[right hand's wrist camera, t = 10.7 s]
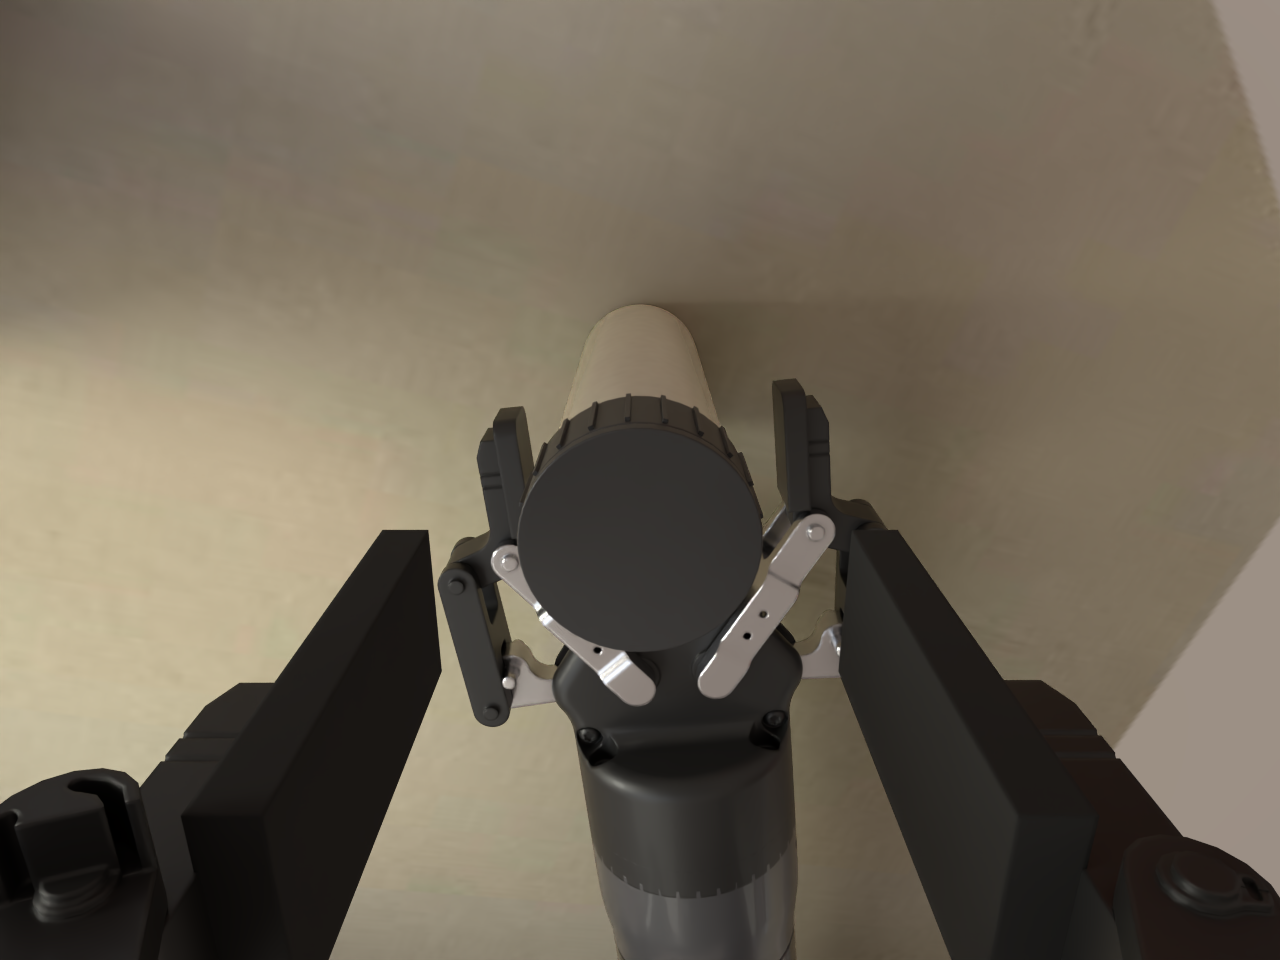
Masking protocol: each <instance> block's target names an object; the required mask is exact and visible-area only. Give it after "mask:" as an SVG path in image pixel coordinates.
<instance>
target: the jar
mask: <svg viewBox="0 0 1280 960" xmlns="http://www.w3.org/2000/svg"><path fill="white" fill-rule="evenodd" d="M628 393H631V396H653V397H659V398H660V397H661V395H665V396H666V399H669V400H672V401H676V402H679V403H682V404H684V405H686V406H688V407H691V408H693V407H694V406H696V407H697V408H698V409H699V412H700V413H701V414H703V415H705V416H706V417H707V418H708V419H710V420H711V421H712V422H713V423H715V424H716V425H717V426H718V427H719V428H720V427H721V426H720V423H719V419H718V416H717V413H716V410H715V407H714V403H713V400H712V397H711V394H710V390H709V387H708V384H707V381H706V377H705V374H704V371H703V368H702V365H701V361H700V358H699V355H698V352H697V348H696V345H695V343H694V340H693V337H692V336H691V334H690V332H689V330H688V329H687V328H686V326H685V325H684V324H683V323H682V322H681V321H680V320H679V319H678V318H677V317H676V316H674V315H673V314H671V313H670V312H668V311H666V310H664V309H662V308H659V307H655V306H651V305H643V304H636V305H629V306H625V307H621V308H619V309H616V310H614V311H612V312H610V313H609V314H607V315H606V316H604V317H603V318H602V319H601V320H600V321H599V322H598V323H597V324H596V325H595V326H594V328H593V329H592V330H591V332H590V334H589V335H588V337H587V340H586V342H585V345H584V348H583V352H582V355H581V358H580V361H579V365H578V368H577V371H576V374H575V378H574V381H573V384H572V387H571V390H570V394H569V397H568V400H567V403H566V407H565V410H564V413H563V416H562V420H561V423H560V426H559V429H560V428H561V427H562V424H563V421H564V420H565V419H566V418H568V420H570V419H572V418H573V417H574V416H576V415H577V414H578V413H580V412H582V411H584V410H586V409H587V408H589V407H591V406H592V403H593V402H595V401H597V402H598V404H599V403H601V402H604V401H607V400H611V399H616V398H620V397H626V394H628ZM559 429H558V430H559Z"/></svg>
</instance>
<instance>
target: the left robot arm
mask: <svg viewBox="0 0 1280 960" xmlns="http://www.w3.org/2000/svg"><path fill="white" fill-rule="evenodd" d="M772 395H773V413H774V431H775V449H776V467H777V485H778V489H779V491H780V494H781V496H782V498H783V500H782V502H781V503H780V505H779V506H778V507H777V509H776V510H775V512H774V513H773V514H772V516H771V517H770V519H769V520H768V521H767V523H766V524H765V526H764V527H763V528H762V533H763V547H762V557H761V561H760V565H759V570H758V572H757V575H756V578H755V580H754V583H753V585H752V587H751V588H750V590H749V592H748V594H747V596H746V597H745V598H744V600H743V601H742V603H741V604H740V605H739V607H738V608H737V609H736V610H735V611H734V612H733V613H732V614H731V615H730V616H729V617H728V618H727V619H726V620H725V621H724V622H723V623H721V624H720V625H719V626H718V627H716V628H715V629H714V630H712V631H710V632H709V633H707V634H706V635H704V636H702V637H700V638H698V639H696V640H694V641H692V642H689V643H687V644H684V645H681V646H678V647H674V648H670V649H665V650H660V651H649V652H629V651H621V650H614V649H610V648H606V647H602V646H599V645H596V644H594V643H591V642H588V641H586V640H584V639H582V638H580V637H578V636H576V635H574V634H572V633H571V632H570V631H568V630H567V629H565V628H564V627H562V626H561V625H560V624H558V623H557V622H556V621H555V620H554V619H553V618H552V617H551V616H549V615H548V613H547V612H546V611H545V610H544V609H543V608H542V607H541V605H540V604H539V603H538V601H537V600H536V598H535V597H534V595H533V594H532V592H531V591H530V589H529V586H528V584H527V582H526V580H525V578H524V575H523V572H522V569H521V566H520V561H519V556H518V550H517V537H516V536H517V532H518V523H519V518H520V514H521V510H522V507H519V504H520V500H521V498H522V495H523V492H524V489H525V486H526V484H527V481H528V478H529V475H530V472H533V470H534V462H533V456H532V450H531V444H530V438H529V431H528V425H527V419H526V414H525V410H524V407H523V406H520V407H510V408H501V409H500V410H499V412H498V414H497V416H496V417H495V419H494V421H493V428H488V429H487V431H486V433H485V435H484V436H483V438H482V440H481V442H480V446H479V450H478V455H477V462H478V468H479V473H480V478H481V484H482V487H483V495H484V500H485V505H486V511H487V516H488V521H489V527H490V530H489V531H488V532H486V533H485V534H482V535H480V536H478V537H476V538H474V537H466V538H463V539H461V540H459V541H458V542H457V543H456V545H455V546H454V548H453V551H452V553H451V558H450V560H449V562H448V564H447V566H446V567H445V568H444V570H443V571H442V573H441V575H440V577H439V580H438V590H439V593H440V597H441V600H442V604H443V607H444V611H445V614H446V618H447V621H448V625H449V628H450V632H451V635H452V639H453V642H454V646H455V650H456V653H457V657H458V660H459V664H460V667H461V671H462V674H463V678H464V681H465V685H466V688H467V692H468V695H469V699H470V702H471V706H472V709H473V713H474V716H475V718H476V719H477V720H478V721H479V722H480V723H481V724H483V725H485V726H489V727H496V726H500V725H502V724H504V723H505V722H506V721H507V720H508V718H509V714H510V710H511V708H517V707H524V706H531V705H538V704H545V703H551V702H557V704H558V705H559V706H560V708H561V709H562V710H563V711H564V712H565V713H566V714H567V716H568V717H569V719H570V721H571V723H572V725H573V728H574V732H575V738H576V744H577V750H578V756H579V762H580V768H581V774H582V781H583V787H584V793H585V799H586V805H587V811H588V818H589V824H590V830H591V837H592V843H593V849H594V855H595V861H596V867H597V873H598V879H599V885H600V890H601V894H602V898H603V901H604V905H605V908H606V911H607V914H608V917H609V920H610V922H611V925H612V928H613V932H614V937H615V943H616V950H617V956H618V960H797V958H796V941H795V925H794V908H795V901H796V893H797V883H798V858H797V840H796V822H795V803H794V784H793V766H792V748H791V730H790V712H789V709H790V702H791V698H792V695H793V693H794V691H795V690H796V688H797V686H798V685H799V683H800V680H801V679H814V678H839V677H840V674H839V672H838V669H839V659H840V648H841V638H842V627H843V617H844V606H845V596H846V585H847V575H848V564H849V554H850V543H851V533H852V530H888V529H887V528H886V526H885V525H884V523H883V522H882V520H881V519H880V517H879V516H878V515H877V513H876V512H875V510H874V509H873V507H872V506H871V504H869V503H868V502H867V501H865V500H862V499H853V500H850V501H846V500H842V499H838V498H835V497H833V496H831V477H830V454H829V452H830V445H829V422H828V420H827V418H826V416H825V414H824V411H823V409H822V407H821V406H820V405H819V403H818V402H817V401H816V399H815V398H814V397H813V395H809V396H805V392H804V389H803V388H802V386H801V385H800V384H799V382H798V381H797V380H796V378H795V379H785V380H776V381H773V383H772ZM827 548H831V549H836V550H837V558H836V585H835V611H833V610H826V611H824V612H823V614H822V616H821V617H820V618H819V619H818V621H817V623H816V627H815V630H814V632H813V634H812V635H811V636H810V637H809V638H807V639H806V640H803V641H800V642H796V641H795V639H794V637H793V636H792V634H791V633H790V632H789V631H788V630H787V629H786V628H785V627H784V626H783V625H782V624H781V623H780V622H781V620H782V619H783V618H784V616H785V615H786V614H787V612H788V611H789V610H790V608H791V607H792V606H793V604H794V603H795V601H796V599H797V597H798V595H799V591H800V586H801V583H802V581H803V580H804V578H805V577H806V576H807V574H808V573H809V572H810V570H811V569H812V568H813V566H814V565H815V564H816V562H817V561H818V560H819V558H820V557H821V555H822V554H823V553H824V551H825V550H826V549H827ZM500 580H503V581H505V582H506V583H507V584H508V585H509V586H510V587H511V588H512V589H514V590H515V591H516V592H517V593H518V594H519V595H520V596H521V597H523V598H524V599H525V600H526V601H527V602H528V603H529V604H530V605H531V606H532V607H533V608H534V609H535V610H536V612H537V615H538V618H539V620H540V621H541V623H542V624H543V625H544V626H545V627H546V628H547V629H548V630H549V631H550V632H551V633H552V634H553V635H555V636H556V637H557V638H558V639H559V640H560V641H561V642H562V643H564V644H565V645H564V646H563V648H562V649H561V651H560V653H559V654H558V656H557V658H556V661H555V665H546V664H543V663H541V662H539V661H537V660H536V659H535V657H534V656H533V654H532V652H531V650H530V648H529V647H528V646H527V645H525V643H524V642H523V641H521V640H514V641H513V642H512V641H511V637H510V633H509V629H508V625H507V621H506V617H505V613H504V609H503V606H502V602H501V598H500V594H499V590H498V586H497V582H498V581H500Z"/></svg>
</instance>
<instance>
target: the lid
mask: <svg viewBox="0 0 1280 960" xmlns="http://www.w3.org/2000/svg"><path fill="white" fill-rule="evenodd" d="M753 485H754V484H753V481H752V479H751V476H750V473H749V470H748V467H747V465H746V462H745V459H744V456H743V454H742V452H740V453H737V451H736V449H735V447H734V445H733V444H732V443H731V441H730V440H729V438H728V437H727V434H726V431H725V428H724V427H723V426H721V427H720V428H719V427H718V426H717V425H716V424H715V423H713V422H712V421H711V420H710V419H708V418H707V417H706V416H705V415H703V414H701V413H700V412H699V409H698V408H697V407H696V406H694V407H693V408H691V407H688V406H686V405H684V404H682V403H679V402H676V401H672V400H669V399H666V396H665V395H661V397H660V398H659V397H653V396H631V393H628V394H626V397H620V398H616V399H611V400H607V401H604V402H601V403H599V404H598V402H597V401H595V402H593V403H592V406H591V407H589V408H587V409H586V410H584V411H582V412H580V413H578V414H577V415H576V416H574V417H573V418H572V419H570V420H568V418H566V419H565V420H564V421H563V424H562V427H561V428H560V429H559V430H558V431H557V432H556V433H555V435H554V436H553V437H552V438H551V440H550V441H549V442H548V444H546V443H545V442H544V443H543V445H542V447H541V450H540V453H539V456H538V459H537V461H536V464H535V467H534V470H533V472H530V475H529V478H528V481H527V484H526V486H525V489H524V492H523V495H522V498H521V500H520V504H519V507H522V510H521V514H520V518H519V523H518V532H517V536H516V537H517V550H518V556H519V561H520V566H521V569H522V572H523V575H524V578H525V580H526V582H527V584H528V586H529V589H530V591H531V592H532V594H533V595H534V597H535V598H536V600H537V601H538V603H539V604H540V605H541V607H542V608H543V609H544V610H545V611H546V612H547V613H548V615H549V616H551V617H552V618H553V619H554V620H555V621H556V622H557V623H558V624H560V625H561V626H562V627H564V628H565V629H567V630H568V631H570V632H571V633H572V634H574V635H576V636H578V637H580V638H582V639H584V640H586V641H588V642H591V643H594V644H596V645H599V646H602V647H606V648H610V649H614V650H621V651H629V652H649V651H660V650H665V649H670V648H674V647H678V646H681V645H684V644H687V643H689V642H692V641H694V640H696V639H698V638H700V637H702V636H704V635H706V634H707V633H709V632H710V631H712V630H714V629H715V628H716V627H718V626H719V625H720V624H721V623H723V622H724V621H725V620H726V619H727V618H728V617H729V616H730V615H731V614H732V613H733V612H734V611H735V610H736V609H737V608H738V607H739V605H740V604H741V603H742V601H743V600H744V598H745V597H746V596H747V594H748V592H749V590H750V588H751V587H752V585H753V583H754V580H755V578H756V575H757V572H758V570H759V565H760V561H761V557H762V547H763V533H762V523H761V518H763V514H762V511H761V508H760V505H759V502H758V499H757V497H756V494H755V491H754V488H753Z"/></svg>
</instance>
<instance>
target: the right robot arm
mask: <svg viewBox="0 0 1280 960" xmlns="http://www.w3.org/2000/svg"><path fill="white" fill-rule="evenodd" d="M441 672H442V669H441V659H440V648H439V638H438V627H437V617H436V606H435V596H434V585H433V575H432V564H431V554H430V543H429V533H428V530H382V531H381V533H380V534H379V536H378V537H377V539H376V540H375V541H374V543H373V544H372V546H371V547H370V548H369V550H368V551H367V553H366V554H365V555H364V557H363V558H362V560H361V561H360V563H359V564H358V565H357V567H356V568H355V570H354V571H353V572H352V574H351V575H350V577H349V578H348V580H347V581H346V582H345V584H344V585H343V587H342V588H341V589H340V591H339V592H338V594H337V595H336V596H335V598H334V599H333V601H332V602H331V604H330V605H329V606H328V608H327V609H326V611H325V612H324V613H323V615H322V616H321V618H320V619H319V621H318V622H317V623H316V625H315V626H314V628H313V629H312V630H311V632H310V633H309V635H308V636H307V638H306V639H305V640H304V642H303V643H302V645H301V646H300V647H299V649H298V650H297V652H296V653H295V654H294V656H293V657H292V659H291V660H290V662H289V663H288V664H287V666H286V667H285V669H284V670H283V671H282V673H281V674H280V676H279V677H278V679H277V680H276V681H275V683H239V684H237V685H236V686H234V687H233V688H231V689H230V690H228V691H227V692H225V693H224V694H222V695H221V696H219V697H218V698H217V699H215V700H214V701H212V702H211V703H209V704H208V705H206V706H205V707H204V708H203V710H202V711H201V712H200V713H199V715H198V716H197V717H196V718H195V720H194V721H193V722H192V723H191V725H190V726H189V727H188V728H187V730H186V731H185V732H184V737H183V738H179V740H178V741H177V742H176V743H175V745H174V746H173V747H172V748H171V749H170V751H169V752H168V753H167V754H166V759H165V761H161V762H160V763H159V764H158V766H157V767H156V768H155V769H154V771H153V772H152V773H151V774H150V776H149V777H148V778H147V779H146V781H145V782H144V783H143V784H142V786H141V787H140V788H139V784H138V782H136V781H135V780H134V779H133V778H132V777H130V776H129V775H128V774H127V773H125V772H121V771H115V770H110V769H104V768H100V769H90V770H80V771H73V772H69V773H66V774H63V775H59V776H56V777H53V778H49V779H46V780H43V781H41V782H39V783H37V784H35V785H32V786H30V787H28V788H26V789H24V790H22V791H20V792H18V793H16V794H14V795H12V796H11V797H9V798H8V799H7V800H5V801H4V802H3V803H1V804H0V960H329V957H330V955H331V952H332V950H333V947H334V944H335V942H336V939H337V937H338V934H339V932H340V929H341V927H342V924H343V922H344V919H345V916H346V914H347V911H348V909H349V906H350V904H351V901H352V899H353V896H354V893H355V891H356V888H357V886H358V883H359V881H360V878H361V876H362V873H363V871H364V868H365V865H366V863H367V860H368V858H369V855H370V853H371V850H372V848H373V845H374V843H375V840H376V837H377V835H378V832H379V830H380V827H381V825H382V822H383V820H384V817H385V814H386V812H387V809H388V807H389V804H390V802H391V799H392V797H393V794H394V792H395V789H396V786H397V784H398V781H399V779H400V776H401V774H402V771H403V769H404V766H405V764H406V761H407V758H408V756H409V753H410V751H411V748H412V746H413V743H414V741H415V738H416V735H417V733H418V730H419V728H420V725H421V723H422V720H423V718H424V715H425V713H426V710H427V707H428V705H429V702H430V700H431V697H432V695H433V692H434V690H435V687H436V684H437V682H438V679H439V677H440V674H441ZM838 672H839V674H840V677H841V679H842V682H843V684H844V687H845V690H846V692H847V695H848V697H849V700H850V702H851V705H852V707H853V710H854V713H855V715H856V718H857V720H858V723H859V725H860V728H861V730H862V733H863V735H864V738H865V741H866V743H867V746H868V748H869V751H870V753H871V756H872V758H873V761H874V764H875V766H876V769H877V771H878V774H879V776H880V779H881V781H882V784H883V786H884V789H885V792H886V794H887V797H888V799H889V802H890V804H891V807H892V809H893V812H894V814H895V817H896V820H897V822H898V825H899V827H900V830H901V832H902V835H903V837H904V840H905V843H906V845H907V848H908V850H909V853H910V855H911V858H912V860H913V863H914V865H915V868H916V871H917V873H918V876H919V878H920V881H921V883H922V886H923V888H924V891H925V893H926V896H927V899H928V901H929V904H930V906H931V909H932V911H933V914H934V916H935V919H936V922H937V924H938V927H939V929H940V932H941V934H942V937H943V939H944V942H945V944H946V947H947V950H948V952H949V955H950V957H951V960H1280V897H1279V896H1278V894H1277V893H1276V891H1275V890H1274V888H1273V887H1272V885H1271V884H1270V883H1269V882H1267V881H1266V880H1265V879H1264V878H1263V877H1261V876H1260V875H1259V874H1258V873H1257V872H1256V871H1254V870H1253V869H1252V868H1251V867H1250V866H1249V865H1247V864H1246V863H1244V862H1242V861H1241V860H1239V859H1237V858H1235V857H1233V856H1232V855H1230V854H1228V853H1226V852H1224V851H1223V850H1221V849H1219V848H1217V847H1214V846H1211V845H1208V844H1205V843H1202V842H1199V841H1196V840H1193V839H1190V838H1187V837H1183V836H1182V835H1181V833H1180V832H1179V831H1178V830H1177V829H1176V827H1175V826H1174V825H1173V824H1172V822H1171V821H1170V820H1169V819H1168V818H1167V816H1166V815H1165V814H1164V812H1163V811H1162V810H1161V809H1160V808H1159V806H1158V805H1157V804H1156V803H1155V801H1154V800H1153V799H1152V798H1151V796H1150V795H1149V794H1148V793H1147V791H1146V790H1145V789H1144V788H1143V787H1142V785H1141V784H1140V783H1139V782H1138V780H1137V779H1136V778H1135V777H1134V775H1133V774H1132V773H1131V772H1130V770H1129V769H1128V768H1127V767H1126V766H1125V764H1124V763H1123V762H1122V761H1121V759H1116V757H1115V752H1114V751H1113V749H1112V748H1111V747H1110V746H1109V745H1108V743H1107V742H1106V741H1105V740H1104V738H1103V737H1102V736H1098V735H1097V730H1096V728H1095V727H1094V726H1093V725H1092V724H1091V722H1090V721H1089V720H1088V719H1087V717H1086V716H1085V715H1084V714H1083V712H1082V711H1081V710H1080V709H1079V707H1078V706H1077V705H1076V704H1075V703H1074V702H1072V701H1071V700H1070V699H1068V698H1067V697H1065V696H1064V695H1062V694H1061V693H1059V692H1058V691H1056V690H1055V689H1053V688H1052V687H1050V686H1049V685H1047V684H1046V683H1044V682H1043V681H1041V680H1003V679H1002V677H1001V676H1000V674H999V673H998V671H997V670H996V669H995V667H994V666H993V664H992V663H991V662H990V660H989V659H988V657H987V656H986V654H985V653H984V652H983V650H982V649H981V647H980V646H979V645H978V643H977V642H976V640H975V639H974V638H973V636H972V635H971V633H970V632H969V630H968V629H967V628H966V626H965V625H964V623H963V622H962V621H961V619H960V618H959V616H958V615H957V613H956V612H955V611H954V609H953V608H952V606H951V605H950V604H949V602H948V601H947V599H946V598H945V596H944V595H943V594H942V592H941V591H940V589H939V588H938V587H937V585H936V584H935V582H934V581H933V580H932V578H931V577H930V575H929V574H928V572H927V571H926V570H925V568H924V567H923V565H922V564H921V563H920V561H919V560H918V558H917V557H916V555H915V554H914V553H913V551H912V550H911V548H910V547H909V546H908V544H907V543H906V541H905V540H904V539H903V537H902V536H901V534H900V533H899V531H898V530H852V533H851V543H850V554H849V564H848V575H847V585H846V596H845V606H844V617H843V627H842V638H841V648H840V659H839V669H838Z"/></svg>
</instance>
